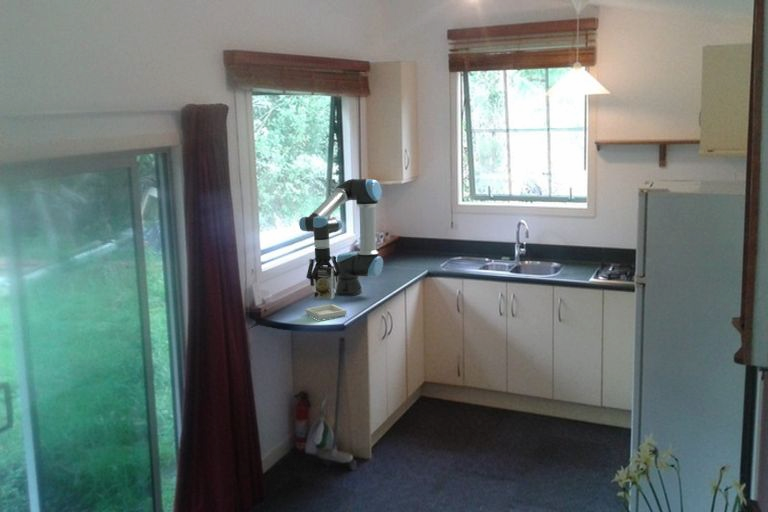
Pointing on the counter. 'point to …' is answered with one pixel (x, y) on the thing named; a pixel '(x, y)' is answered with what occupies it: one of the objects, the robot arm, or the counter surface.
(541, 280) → the counter surface
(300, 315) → the counter surface
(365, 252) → the robot arm
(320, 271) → the coffee box
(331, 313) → the tray
